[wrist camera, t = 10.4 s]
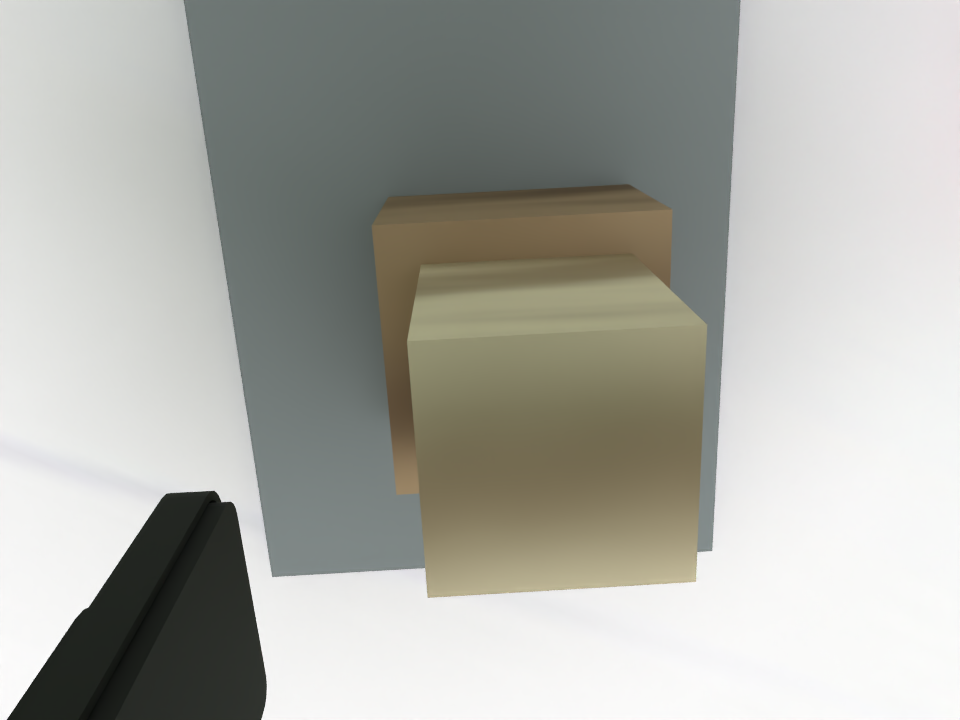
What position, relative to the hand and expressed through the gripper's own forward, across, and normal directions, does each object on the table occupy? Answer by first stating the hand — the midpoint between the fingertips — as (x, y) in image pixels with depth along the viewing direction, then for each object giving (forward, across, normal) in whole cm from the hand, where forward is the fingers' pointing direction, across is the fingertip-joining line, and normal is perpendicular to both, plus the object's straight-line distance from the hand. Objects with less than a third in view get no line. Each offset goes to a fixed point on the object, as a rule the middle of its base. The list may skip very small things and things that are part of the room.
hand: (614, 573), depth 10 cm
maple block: (+10, 0, +1) cm, 10 cm away
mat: (+16, +1, -1) cm, 16 cm away
